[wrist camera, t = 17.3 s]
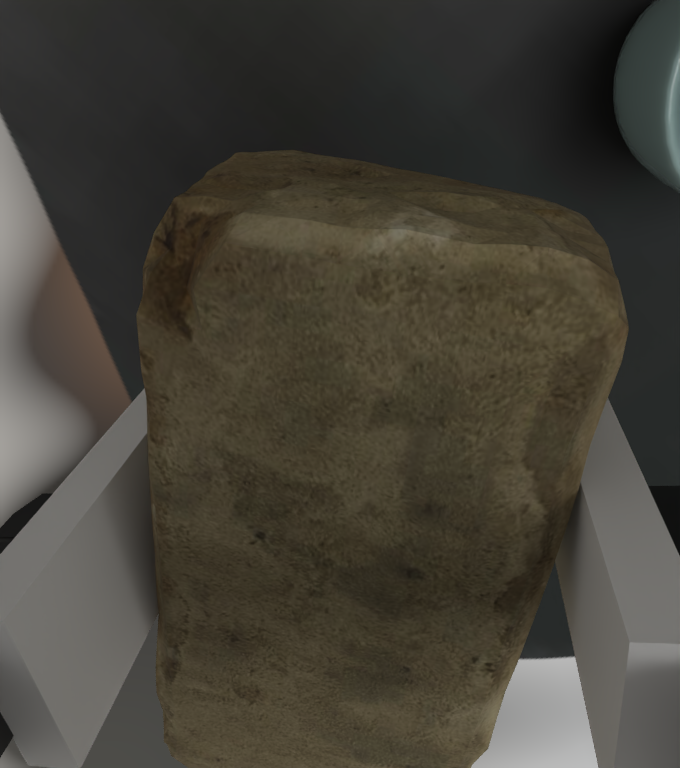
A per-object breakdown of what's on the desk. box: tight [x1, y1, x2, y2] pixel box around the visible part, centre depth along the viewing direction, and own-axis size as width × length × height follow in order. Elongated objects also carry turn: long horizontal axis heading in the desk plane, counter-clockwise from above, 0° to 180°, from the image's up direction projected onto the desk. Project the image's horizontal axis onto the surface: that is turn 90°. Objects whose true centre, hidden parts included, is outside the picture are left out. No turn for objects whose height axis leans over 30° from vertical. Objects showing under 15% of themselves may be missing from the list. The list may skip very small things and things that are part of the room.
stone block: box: [136, 150, 629, 768], centre depth 11 cm, size 6×12×5 cm, turn 176°
